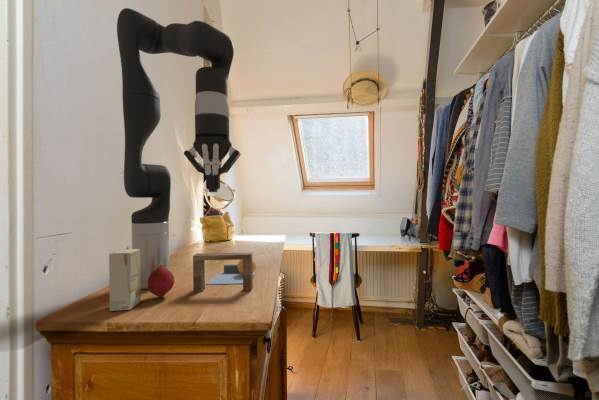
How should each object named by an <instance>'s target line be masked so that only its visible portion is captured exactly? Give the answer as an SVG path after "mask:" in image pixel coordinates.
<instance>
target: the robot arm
mask: <svg viewBox="0 0 599 400" xmlns="http://www.w3.org/2000/svg"><path fill="white" fill-rule="evenodd" d="M116 35H117V36H116V37H117V42H118V43H117V45H118V50H119V51H118V52H119V57H120V65H121V80H122V81H121V83H122V89H121V91H122V113H123V127H124V159H123V160H124V163H123V185H124V191H125V194H126V195H127V196H128V197H129V198H135V199H137V198H139V199H140V198H141V199H144V198H146V199H147V198H151V202H150V203H149V204H148V205H147V206H145V207H144V208H140V209H139V210H136V211H134V212H132V214H131V217H130V218H131V249H140V277H141V290H142V289H145V290H147V289H148V285H147V281H148V278H149V276H150V274H151V273H152V272H153V271H154V270H155V269H156V268H157V267H158V266H159V265H160V264H164V268H166V269H168V270H169V271H170V226H169V224H170V223H169V221H170V220H169V219H170V217H169V216H170V211H171V189H172V188H171V187H172V186H171V185H172V181H171V174H170V170H169V169H168V167H167V166H165V165H162V164H151V163H150V164H149V163H142V161H143V160H142V159H143V158H142V157H143V155H142V154H143V150H144V147H145V145H146V143H147V141H148V139H150V137H151V136H152V134H153V133H154V131H155V130H156V128H157V127H158V125H159V123H160V121H161V118H162V117H161V97H160V94H159V91H158V89H157V87H156V85H155V83H154V81H153V79H152V77H151V76H150V75H149V73H148V71H147V70H146V67H145V66H144V64H143V61H142V58H141V54H140V52H143V53H145V54H149V55H150V54H152V55H159V54H168V53H169V54H170V53H171V54H175V55H179V56H184V57H191V58H193V57H196V58H197V57H199V58H201V59H204V60H206V61H208V62H210V63H211V65H210V66H202V67H199V68H198V69H197V70H196V72H195V99H194V100H195V101H194V136H195V137H194V141H193V144H192V147H190V149H187V150H185V151H183V155H184V157H185V158H187V160H188V161H189V162H190V164H191V165H192V166H193V167H194V169H195V170H196V171H197V172H198V173H201V174H203V175H204V176H205V188H206V190H208V192H209V193H218V191H219V190H220V189H221V176H222V175H223V174H227V173H228V172H229V171H230V170H231V168H232V167H233V166H234V165H235V163H236V162H237V160H238V159H239V158H240V157H241V155H242V154H241V152H240V151H239V150H237V149H236V148H234V147H233V145H232V142H231V140H230V106H229V97H228V79H229V75H230V72H231V67H232V63H233V59H234V55H235V46H234V43H233V40H232V39H231V37H230V36H229V35H228V34H226V33H225V32H223V31H221V30H219V29H218V28H216V27H214V26H212V25H211V24H209V23H207V22H204V21H202V20H193V21H190V22H189V23H178V22H176V23H170V24H168V25H166V26H164V25H161V24H160V23H158V22H157V20H155V19H152V18H151V17H148V16H146V15H145V14H143V13H141V12H139V11H137V10H135V9H132V8H129V7H126V8H123V9H121V10H120V12H119V13H118V16H117V22H116ZM198 155H199V157H201V159H202V160H203V165H204V166H203V165H202V163H201V162H200V161H199V160H198V158H197V157H198ZM227 155H228V158H227V160H225V162H224V163H223V160H224V159H225V157H226V156H227Z"/></svg>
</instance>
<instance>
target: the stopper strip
mask: <svg viewBox="0 0 599 400" xmlns="http://www.w3.org/2000/svg"><path fill="white" fill-rule="evenodd" d="M223 273H240V272H239V271H238V264H224V265H223Z"/></svg>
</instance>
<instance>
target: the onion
mask: <svg viewBox="0 0 599 400" xmlns="http://www.w3.org/2000/svg"><path fill="white" fill-rule="evenodd" d="M174 284H175V277H174V274H173V273H172V272H171V271H170V269H169V270H168V269H166V268H164V264H160V265H159V266H158V267H157V268H156V269H155V270H154V271H153V272H152V273H151V274H150V276H149V278H148V281H147V285H148V288H147V289H148V291H149V292H150V293H151V294H152V295H154V296H156V297H158V298H164V297H165V295H166V294H168V293H169V292H170V290H172V288H173V287H174Z"/></svg>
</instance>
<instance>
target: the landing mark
mask: <svg viewBox="0 0 599 400" xmlns="http://www.w3.org/2000/svg"><path fill="white" fill-rule="evenodd" d="M255 276H256V272H255V271H254V272H253V278H255ZM207 285H209V286H210V285H243V275H242V274H241V273H224V272H217V273H216V274H215V275H214V276H212V277H211V279H209V281H207V282H206V283H205V286H207Z"/></svg>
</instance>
